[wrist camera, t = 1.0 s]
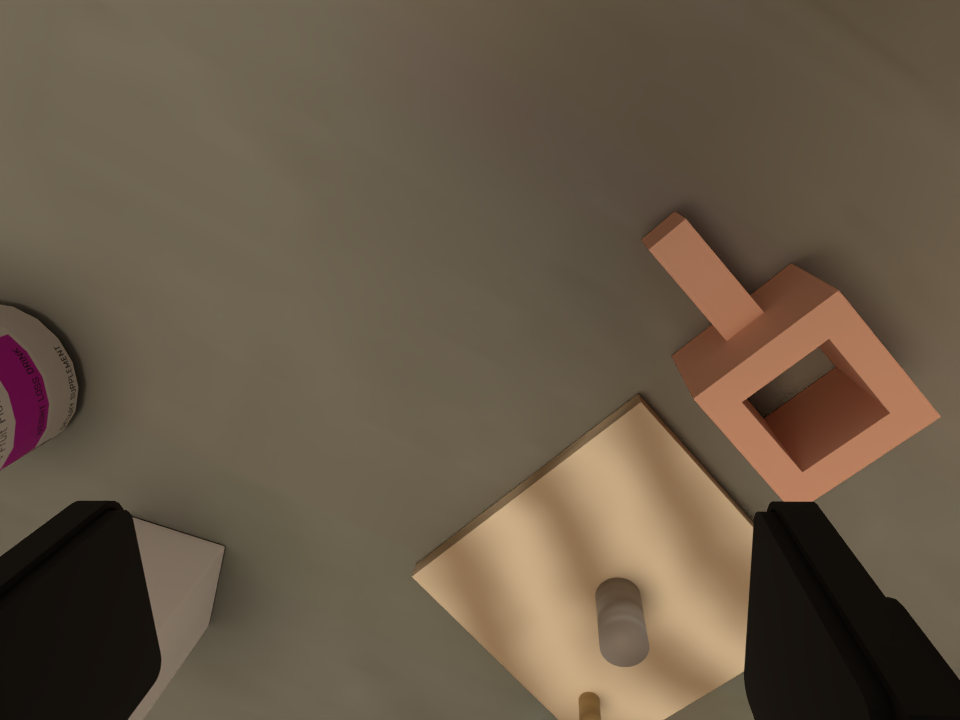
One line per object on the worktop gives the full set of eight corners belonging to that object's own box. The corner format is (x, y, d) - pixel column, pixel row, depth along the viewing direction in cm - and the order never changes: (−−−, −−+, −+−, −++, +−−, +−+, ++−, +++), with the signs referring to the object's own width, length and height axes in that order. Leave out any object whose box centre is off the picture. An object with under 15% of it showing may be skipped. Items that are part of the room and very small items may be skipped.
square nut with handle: (878, 369, 35) (940, 416, 29) (757, 454, 37) (794, 513, 31) (718, 174, 33) (752, 183, 27) (600, 274, 35) (608, 302, 29)
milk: (129, 514, 42) (-296, 891, 21) (228, 545, 42) (-100, 954, 21) (116, 597, 44) (-284, 1019, 23) (211, 627, 44) (-105, 1077, 23)
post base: (638, 393, 36) (650, 434, 32) (825, 603, 39) (864, 671, 34) (415, 564, 41) (396, 623, 36) (597, 742, 44) (602, 820, 39)
